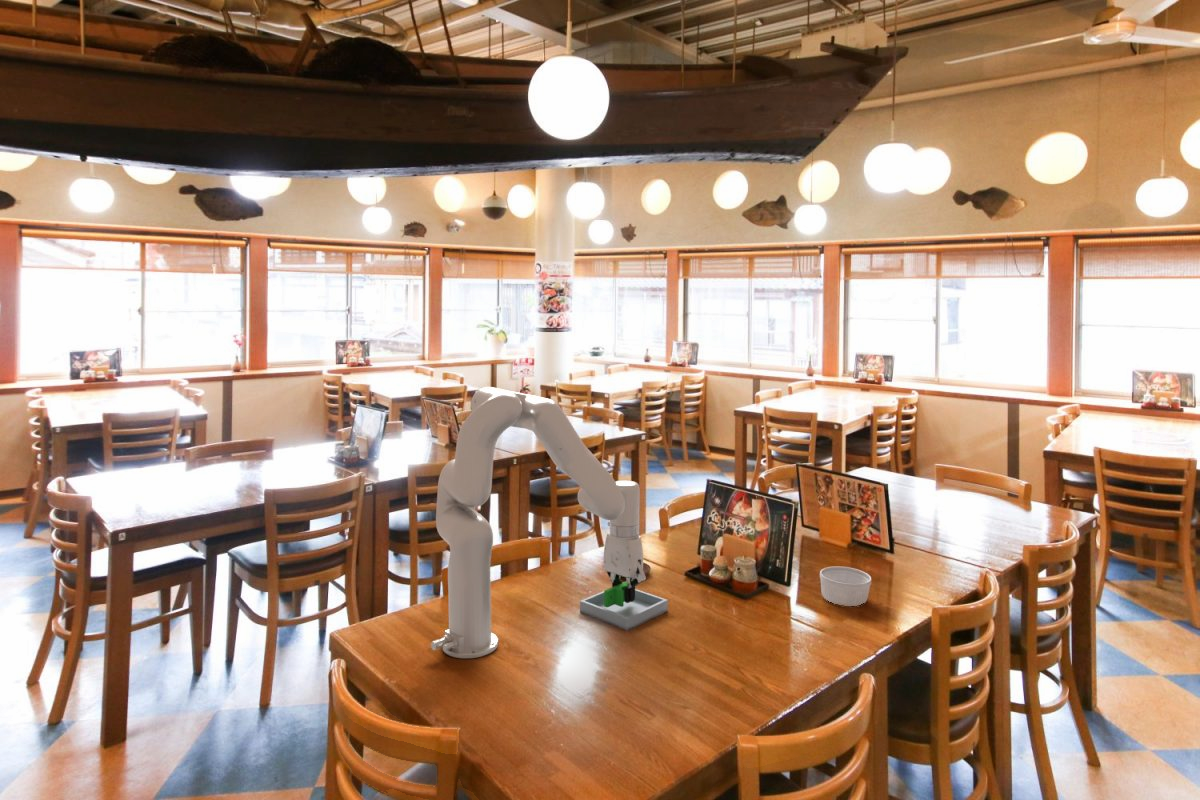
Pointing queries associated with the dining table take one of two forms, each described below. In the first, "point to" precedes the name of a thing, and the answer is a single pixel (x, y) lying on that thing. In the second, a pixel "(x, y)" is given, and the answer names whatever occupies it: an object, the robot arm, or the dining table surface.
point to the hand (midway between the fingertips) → (623, 598)
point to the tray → (625, 609)
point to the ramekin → (845, 585)
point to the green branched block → (615, 595)
